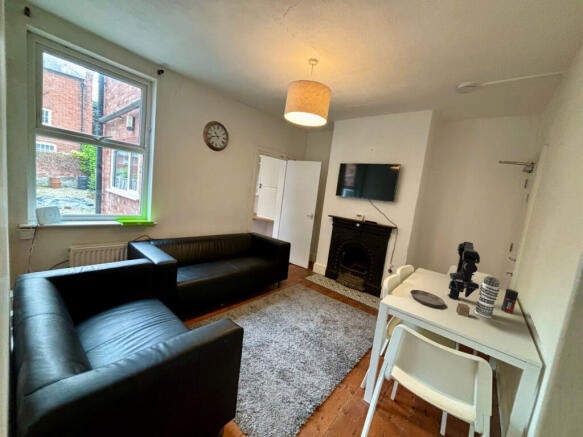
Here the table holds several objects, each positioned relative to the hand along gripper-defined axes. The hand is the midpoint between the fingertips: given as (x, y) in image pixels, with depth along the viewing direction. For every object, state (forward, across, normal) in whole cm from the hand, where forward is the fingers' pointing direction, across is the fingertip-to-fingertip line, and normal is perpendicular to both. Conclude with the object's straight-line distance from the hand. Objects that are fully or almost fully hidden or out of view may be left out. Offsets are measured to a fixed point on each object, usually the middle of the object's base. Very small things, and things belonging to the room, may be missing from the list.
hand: (461, 294), depth 143 cm
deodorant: (+9, -21, +40) cm, 46 cm away
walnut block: (+12, -2, +3) cm, 13 cm away
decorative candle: (+11, -8, +18) cm, 23 cm away
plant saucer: (+12, -12, -14) cm, 22 cm away
